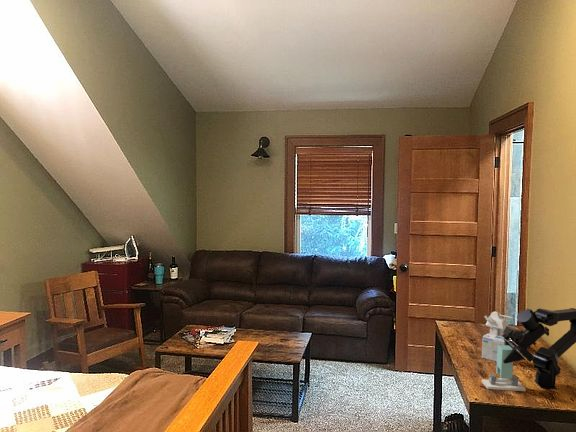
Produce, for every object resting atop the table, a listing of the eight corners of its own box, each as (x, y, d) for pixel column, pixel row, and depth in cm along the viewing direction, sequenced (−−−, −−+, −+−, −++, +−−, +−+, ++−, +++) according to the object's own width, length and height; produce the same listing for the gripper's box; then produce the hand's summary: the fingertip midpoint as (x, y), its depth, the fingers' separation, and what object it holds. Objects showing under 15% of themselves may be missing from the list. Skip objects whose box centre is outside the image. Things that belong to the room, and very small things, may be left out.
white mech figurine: (506, 353, 229) (509, 317, 228) (479, 346, 238) (481, 312, 237) (514, 347, 238) (516, 313, 237) (487, 340, 247) (489, 307, 246)
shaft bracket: (518, 383, 195) (519, 373, 195) (525, 391, 188) (526, 380, 188) (481, 381, 196) (482, 371, 196) (487, 388, 189) (488, 378, 189)
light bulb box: (509, 360, 221) (510, 338, 220) (504, 364, 216) (505, 341, 215) (486, 354, 228) (487, 332, 227) (480, 357, 223) (482, 335, 222)
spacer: (507, 373, 194) (508, 345, 193) (512, 378, 189) (513, 350, 188) (496, 372, 195) (497, 344, 194) (500, 378, 189) (502, 349, 188)
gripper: (508, 314, 199) (480, 338, 201) (527, 328, 180) (496, 354, 182) (526, 332, 199) (498, 356, 201) (546, 348, 180) (515, 374, 182)
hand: (501, 359), depth 191 cm, fingers closed on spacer, 5 cm apart
